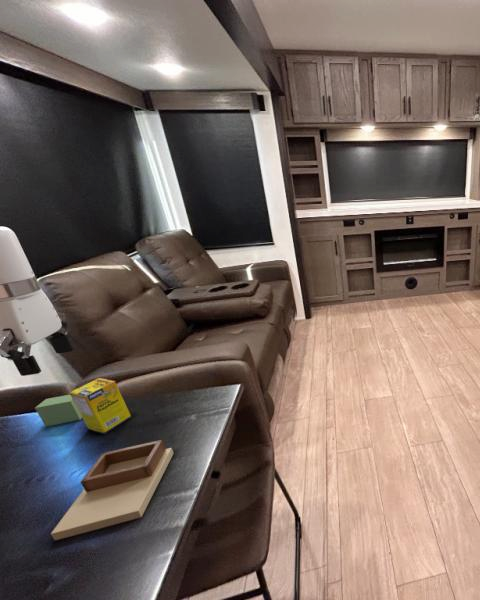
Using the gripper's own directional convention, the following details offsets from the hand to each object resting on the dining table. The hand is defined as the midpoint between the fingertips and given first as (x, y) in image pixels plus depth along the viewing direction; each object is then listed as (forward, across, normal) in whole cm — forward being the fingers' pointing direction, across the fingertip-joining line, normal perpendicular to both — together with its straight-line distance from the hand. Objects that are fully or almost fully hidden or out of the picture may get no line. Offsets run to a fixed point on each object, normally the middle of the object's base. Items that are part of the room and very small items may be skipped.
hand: (49, 362), depth 71 cm
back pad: (+18, -4, -5) cm, 18 cm away
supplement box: (+18, +2, +7) cm, 19 cm away
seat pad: (+17, +25, +21) cm, 37 cm away
